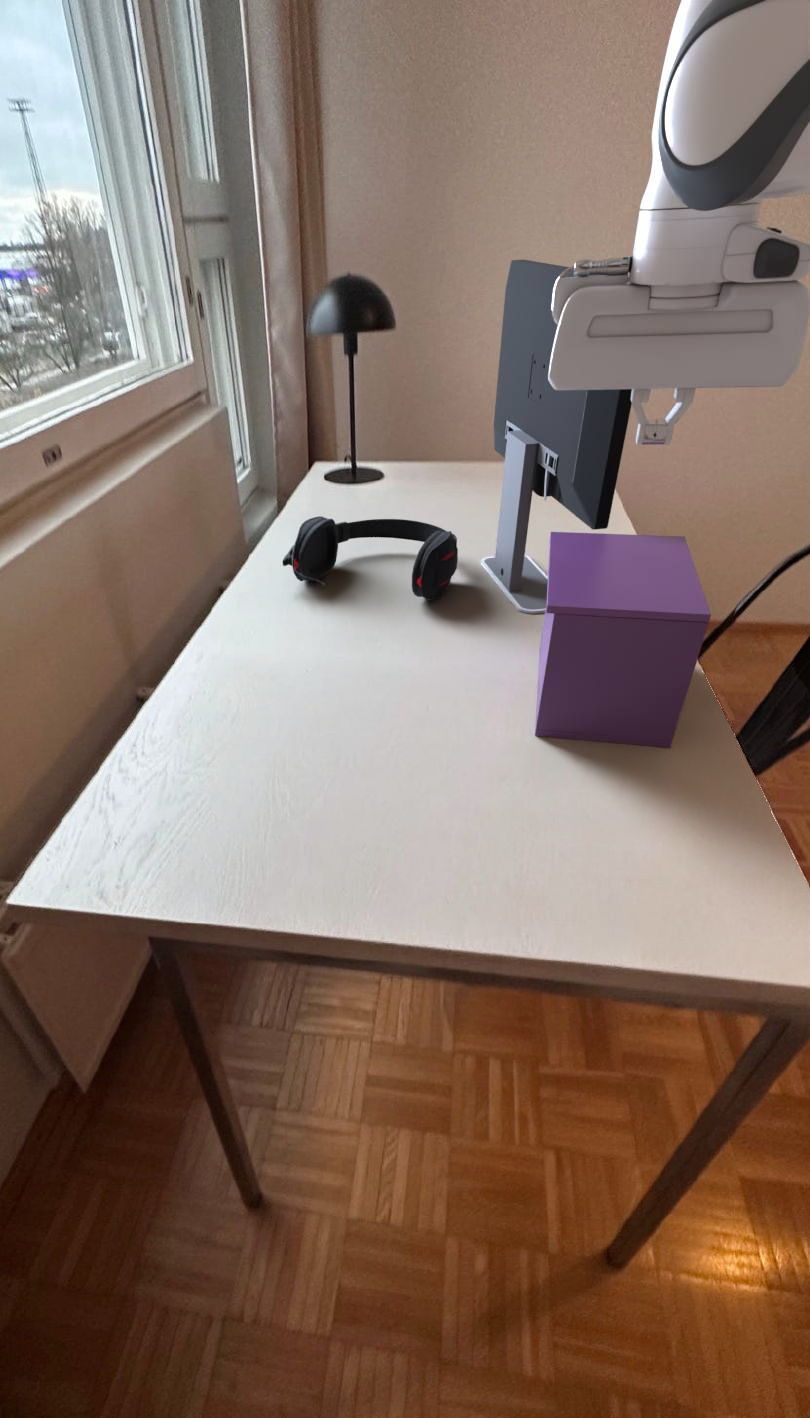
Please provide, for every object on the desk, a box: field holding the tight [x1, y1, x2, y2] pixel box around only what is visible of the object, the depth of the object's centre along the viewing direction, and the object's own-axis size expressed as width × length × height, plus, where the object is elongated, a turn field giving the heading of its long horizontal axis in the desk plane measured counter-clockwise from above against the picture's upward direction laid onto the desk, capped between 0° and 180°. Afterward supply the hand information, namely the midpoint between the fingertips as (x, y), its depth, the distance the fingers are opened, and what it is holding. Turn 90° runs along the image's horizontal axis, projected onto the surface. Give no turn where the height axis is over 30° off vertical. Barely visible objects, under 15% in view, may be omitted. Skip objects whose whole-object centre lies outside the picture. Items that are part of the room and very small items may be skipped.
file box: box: [534, 604, 709, 749], centre depth 86 cm, size 15×22×15 cm
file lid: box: [546, 531, 712, 623], centre depth 81 cm, size 16×22×1 cm
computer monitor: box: [480, 259, 633, 615], centre depth 105 cm, size 41×8×40 cm, turn 9°
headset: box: [282, 515, 459, 601], centre depth 118 cm, size 28×26×9 cm
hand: (652, 443), depth 68 cm, fingers closed
